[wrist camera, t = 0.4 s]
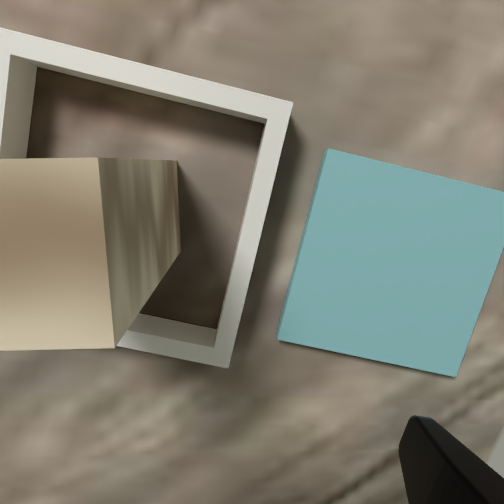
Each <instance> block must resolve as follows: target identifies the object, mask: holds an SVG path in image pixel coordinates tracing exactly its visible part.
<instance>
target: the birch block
mask: <svg viewBox="0 0 504 504" xmlns="http://www.w3.org/2000/svg"><path fill="white" fill-rule="evenodd" d="M180 252H181V238H180V217H179V197H178V177H177V161H171V160H145V159H119V158H27V159H0V351H4V350H49V349H95V348H115V347H116V346H117V344H118V343H119V341H120V340H121V338H122V337H123V335H124V334H125V332H126V331H127V329H128V328H129V327H130V325H131V324H132V322H133V321H134V319H135V318H136V316H137V315H138V313H139V312H140V310H141V309H142V308H143V306H144V305H145V303H146V302H147V300H148V299H149V297H150V296H151V294H152V293H153V291H154V290H155V289H156V287H157V286H158V284H159V283H160V281H161V280H162V278H163V277H164V275H165V274H166V272H167V271H168V270H169V268H170V267H171V265H172V264H173V262H174V261H175V259H176V258H177V256H178V255H179V253H180Z"/></svg>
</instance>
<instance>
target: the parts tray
mask: <svg viewBox="0 0 504 504" xmlns="http://www.w3.org/2000/svg"><path fill="white" fill-rule="evenodd" d="M37 67H40V68H44V69H48V70H52V71H56V72H60V73H64V74H68V75H72V76H76V77H80V78H84V79H88V80H92V81H96V82H100V83H104V84H108V85H112V86H116V87H120V88H124V89H128V90H132V91H136V92H140V93H144V94H148V95H152V96H156V97H160V98H164V99H168V100H172V101H176V102H180V103H184V104H188V105H192V106H196V107H200V108H204V109H208V110H212V111H216V112H220V113H224V114H228V115H232V116H236V117H240V118H244V119H248V120H252V121H256V122H260V123H264V129H263V133H262V137H261V141H260V146H259V150H258V154H257V159H256V163H255V167H254V171H253V176H252V180H251V184H250V189H249V193H248V197H247V202H246V206H245V210H244V214H243V219H242V223H241V227H240V232H239V236H238V240H237V244H236V249H235V253H234V257H233V262H232V266H231V270H230V274H229V279H228V283H227V287H226V292H225V296H224V300H223V305H222V309H221V313H220V317H219V322H218V326H217V329H212V328H207V327H203V326H198V325H193V324H188V323H184V322H179V321H174V320H169V319H165V318H160V317H155V316H150V315H146V314H141V313H138V315H137V316H136V318H135V319H134V321H133V322H132V324H131V325H130V327H129V328H128V329H127V331H126V332H125V334H124V335H123V337H122V338H121V340H120V341H119V343H118V344H117V346H120V347H125V348H130V349H135V350H139V351H144V352H149V353H154V354H159V355H164V356H169V357H174V358H179V359H184V360H189V361H193V362H198V363H203V364H208V365H213V366H218V367H223V368H228V367H229V363H230V359H231V355H232V351H233V347H234V343H235V339H236V335H237V331H238V326H239V322H240V318H241V314H242V310H243V306H244V302H245V298H246V294H247V290H248V285H249V281H250V277H251V273H252V269H253V265H254V261H255V257H256V253H257V249H258V245H259V240H260V236H261V232H262V228H263V224H264V220H265V216H266V212H267V208H268V204H269V200H270V195H271V191H272V187H273V183H274V179H275V175H276V171H277V167H278V163H279V159H280V154H281V150H282V146H283V142H284V138H285V134H286V130H287V126H288V122H289V118H290V114H291V109H292V105H293V102H290V101H286V100H282V99H278V98H274V97H270V96H266V95H262V94H259V93H255V92H251V91H247V90H243V89H239V88H235V87H231V86H227V85H223V84H219V83H216V82H212V81H208V80H204V79H200V78H196V77H192V76H188V75H184V74H180V73H176V72H172V71H169V70H165V69H161V68H157V67H153V66H149V65H145V64H141V63H137V62H133V61H129V60H125V59H122V58H118V57H114V56H110V55H106V54H102V53H98V52H94V51H90V50H86V49H82V48H79V47H75V46H71V45H67V44H63V43H59V42H55V41H51V40H47V39H43V38H39V37H35V36H32V35H28V34H24V33H20V32H16V31H12V30H8V29H4V28H0V159H26V156H27V147H28V139H29V131H30V123H31V114H32V106H33V98H34V89H35V81H36V73H37Z"/></svg>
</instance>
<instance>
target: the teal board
mask: <svg viewBox="0 0 504 504" xmlns="http://www.w3.org/2000/svg"><path fill="white" fill-rule="evenodd" d="M503 248H504V192H502V191H498V190H494V189H490V188H486V187H482V186H478V185H474V184H470V183H466V182H462V181H458V180H454V179H450V178H446V177H442V176H438V175H434V174H430V173H426V172H422V171H418V170H414V169H410V168H406V167H402V166H398V165H394V164H389V163H385V162H381V161H377V160H373V159H369V158H365V157H361V156H357V155H353V154H349V153H345V152H341V151H337V150H333V149H329V148H327V149H325V151H324V155H323V159H322V162H321V166H320V170H319V174H318V177H317V181H316V185H315V189H314V192H313V196H312V200H311V204H310V208H309V211H308V215H307V219H306V223H305V226H304V230H303V234H302V238H301V241H300V245H299V249H298V253H297V257H296V260H295V264H294V268H293V272H292V275H291V279H290V283H289V287H288V290H287V294H286V298H285V302H284V306H283V309H282V313H281V317H280V321H279V324H278V328H277V332H276V336H277V340H282V341H287V342H291V343H296V344H301V345H306V346H310V347H315V348H320V349H325V350H329V351H334V352H339V353H344V354H348V355H353V356H358V357H362V358H367V359H372V360H377V361H381V362H386V363H391V364H396V365H400V366H405V367H410V368H415V369H419V370H424V371H429V372H434V373H438V374H443V375H448V376H453V377H456V375H457V372H458V370H459V367H460V364H461V361H462V359H463V356H464V353H465V351H466V348H467V345H468V343H469V340H470V337H471V334H472V332H473V329H474V326H475V324H476V321H477V318H478V315H479V313H480V310H481V307H482V305H483V302H484V299H485V297H486V294H487V291H488V288H489V286H490V283H491V280H492V278H493V275H494V272H495V269H496V267H497V264H498V261H499V259H500V256H501V253H502V251H503Z"/></svg>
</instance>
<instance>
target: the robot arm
mask: <svg viewBox="0 0 504 504" xmlns="http://www.w3.org/2000/svg"><path fill="white" fill-rule="evenodd" d="M399 458H400V463H401V468H402V473H403V477H404V482H405V487H406V492H407V497H408V502H409V504H504V478H503V477H501V476H500V475H499V474H498V473H497V472H495V471H494V470H493V469H492V468H490V467H489V466H488V465H487V464H486V463H485V462H484V461H482V460H481V459H480V458H479V457H478V456H476V455H475V454H474V453H473V452H472V451H470V450H469V449H468V448H467V447H466V446H464V445H463V444H462V443H461V442H460V441H458V440H457V439H456V438H455V437H454V436H452V435H451V434H450V433H449V432H448V431H447V430H445V429H444V428H443V427H442V426H441V425H439V424H438V423H437V422H436V421H435V420H433V419H432V418H429V417H423V416H417V415H414V416H412V417H411V418H410V419H409V421H408V423H407V426H406V428H405V431H404V433H403V436H402V438H401V441H400V444H399Z"/></svg>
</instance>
